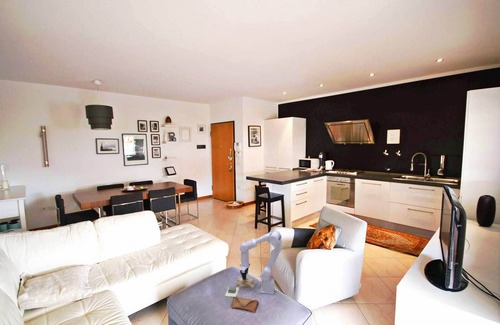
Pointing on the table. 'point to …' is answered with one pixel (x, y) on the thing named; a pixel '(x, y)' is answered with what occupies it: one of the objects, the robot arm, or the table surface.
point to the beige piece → (245, 282)
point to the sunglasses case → (244, 304)
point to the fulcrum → (231, 292)
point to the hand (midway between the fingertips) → (245, 276)
